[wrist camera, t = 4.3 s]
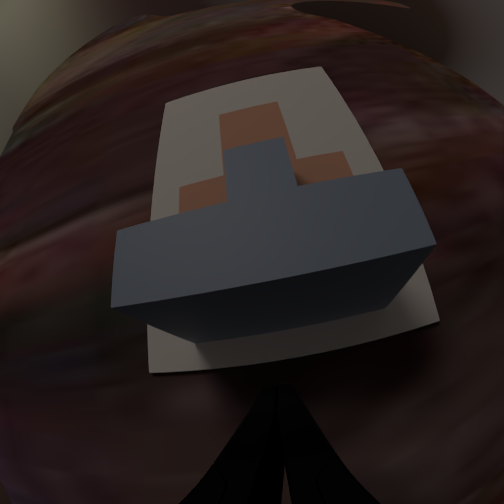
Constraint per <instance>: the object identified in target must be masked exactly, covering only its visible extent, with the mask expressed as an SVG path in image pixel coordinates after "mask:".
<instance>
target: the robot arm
mask: <svg viewBox="0 0 504 504" xmlns="http://www.w3.org/2000/svg"><path fill="white" fill-rule="evenodd" d="M284 466H285V468H286V473H287V479H288V485H289V491H290V496H291V502H292V504H380V503H379V502H378V501H377V500H376V499H375V498H374V497H373V496H372V495H371V494H370V493H369V492H368V491H367V490H366V489H365V488H364V487H363V486H362V485H361V484H360V483H359V482H358V481H357V480H356V479H355V477H354V476H353V475H352V474H351V473H350V472H349V470H348V469H347V468H346V466H345V465H344V464H343V462H342V461H341V459H340V458H339V456H338V455H337V453H335V451H334V449H333V448H332V446H331V445H330V443H329V441H328V440H327V438H326V437H325V435H324V434H323V432H322V431H321V429H320V428H319V426H318V425H317V423H316V422H315V420H314V418H313V417H312V415H311V414H310V412H309V411H308V409H307V407H306V406H305V404H304V403H303V401H302V400H301V398H300V396H299V395H298V393H297V392H296V390H295V388H294V387H293V385H292V384H291V383H290V382H287V383H280V384H278V386H277V385H276V384H273V385H266V386H264V387H263V389H262V390H261V392H260V393H259V395H258V397H257V398H256V400H255V402H254V403H253V405H252V406H251V408H250V409H249V411H248V413H247V414H246V416H245V417H244V419H243V420H242V422H241V423H240V425H239V427H238V428H237V430H236V431H235V433H234V434H233V436H232V437H231V439H230V440H229V442H228V443H227V445H226V446H225V447H224V449H223V450H222V452H221V453H220V455H219V456H218V458H217V459H216V460H215V462H214V464H213V465H212V466H211V467H210V469H209V470H208V471H207V473H206V474H205V475H204V477H203V478H202V479H201V481H200V482H199V483H198V484H197V485H196V486H195V488H194V489H193V490H192V491H191V492H190V493H189V494H188V495H187V496H186V497H185V498H184V499H183V500H182V501H181V502H180V503H179V504H281V501H282V490H283V478H284Z"/></svg>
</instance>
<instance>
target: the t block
mask: <svg viewBox="0 0 504 504" xmlns="http://www.w3.org/2000/svg"><path fill="white" fill-rule="evenodd" d="M223 157H224V168H225V179H226V190H227V201H228V202H223V203H219V204H215V205H211V206H207V207H203V208H199V209H195V210H191V211H187V212H183V213H179V214H176V215H172V216H168V217H164V218H161V219H157V220H153V221H150V222H146V223H142V224H139V225H135V226H132V227H128V228H125V229H122V230H118V231H117V238H116V246H115V256H114V267H113V280H112V296H111V308H112V309H115V310H117V311H119V312H121V313H123V314H125V315H128V316H130V317H132V318H134V319H136V320H139V321H141V322H143V323H145V324H148V325H150V326H152V327H155V328H157V329H160V330H162V331H164V332H167V333H169V334H172V335H174V336H177V337H179V338H182V339H184V340H187V341H190V342H192V343H202V342H210V341H218V340H225V339H233V338H239V337H246V336H253V335H259V334H265V333H271V332H277V331H282V330H288V329H293V328H299V327H304V326H309V325H314V324H319V323H324V322H328V321H333V320H338V319H342V318H347V317H351V316H355V315H359V314H364V313H368V312H372V311H376V310H380V309H384V308H386V307H387V306H388V305H389V304H390V302H391V301H392V300H393V299H394V298H395V297H396V295H397V294H398V293H399V292H400V291H401V289H402V288H403V287H404V286H405V285H406V283H407V282H408V281H409V280H410V278H411V277H412V276H413V275H414V273H415V272H416V271H417V270H418V268H419V267H420V266H421V264H422V263H423V262H424V261H425V259H426V258H427V257H428V255H429V254H430V252H431V251H432V250H433V248H434V247H435V246H436V241H435V239H434V236H433V234H432V231H431V229H430V227H429V224H428V222H427V220H426V217H425V215H424V213H423V211H422V208H421V206H420V204H419V202H418V200H417V198H416V196H415V193H414V191H413V189H412V187H411V185H410V183H409V181H408V179H407V177H406V176H405V174H404V172H403V170H402V168H400V169H393V170H386V171H380V172H373V173H367V174H361V175H355V176H350V177H344V178H338V179H333V180H327V181H322V182H317V183H311V184H306V185H301V186H298V185H297V182H296V178H295V175H294V171H293V168H292V164H291V161H290V158H289V154H288V151H287V148H286V144H285V141H284V138H283V137H279V138H274V139H269V140H265V141H260V142H256V143H251V144H247V145H243V146H239V147H235V148H231V149H227V150H223Z"/></svg>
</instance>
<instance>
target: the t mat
mask: <svg viewBox="0 0 504 504" xmlns="http://www.w3.org/2000/svg"><path fill="white" fill-rule="evenodd" d="M279 137H283V138H284V141H285V144H286V148H287V151H288V154H289V158H290V161H291V164H292V168H293V171H294V175H295V178H296V182H297V185H298V186H301V185H306V184H311V183H317V182H322V181H327V180H333V179H338V178H344V177H350V176H355V175H361V174H367V173H373V172H380V171H383V169H382V167H381V165H380V163H379V161H378V159H377V157H376V155H375V153H374V151H373V149H372V147H371V146H370V144H369V142H368V140H367V138H366V136H365V135H364V133H363V131H362V129H361V128H360V126H359V124H358V123H357V121H356V119H355V117H354V116H353V114H352V113H351V111H350V109H349V108H348V106H347V104H346V103H345V101H344V100H343V98H342V97H341V95H340V93H339V92H338V90H337V89H336V87H335V86H334V84H333V83H332V81H331V80H330V78H329V77H328V76H327V74H326V73H325V71H324V70H323V68H322V67H315V68H307V69H301V70H294V71H288V72H282V73H277V74H271V75H266V76H261V77H257V78H252V79H248V80H243V81H239V82H235V83H231V84H227V85H223V86H220V87H216V88H212V89H209V90H205V91H202V92H199V93H195V94H192V95H189V96H186V97H183V98H180V99H177V100H174V101H171V102H168V103H166V105H165V110H164V116H163V122H162V128H161V134H160V141H159V148H158V155H157V162H156V171H155V179H154V188H153V198H152V209H151V221H153V220H157V219H161V218H164V217H168V216H172V215H176V214H179V213H183V212H187V211H191V210H195V209H199V208H203V207H207V206H211V205H215V204H219V203H223V202H228V201H227V190H226V179H225V168H224V157H223V150H227V149H231V148H235V147H239V146H243V145H247V144H251V143H256V142H260V141H265V140H269V139H274V138H279ZM438 321H440V320H439V316H438V312H437V309H436V305H435V302H434V298H433V295H432V291H431V288H430V285H429V282H428V279H427V275H426V272H425V269H424V266H423V264H421V266H420V267H419V268H418V270H417V271H416V272H415V273H414V275H413V276H412V277H411V278H410V280H409V281H408V282H407V283H406V285H405V286H404V287H403V288H402V289H401V291H400V292H399V293H398V294H397V295H396V297H395V298H394V299H393V300H392V301H391V302H390V304H389V305H388V306H387V307H386V308H384V309H380V310H376V311H372V312H368V313H364V314H359V315H355V316H351V317H347V318H342V319H338V320H333V321H328V322H324V323H319V324H314V325H309V326H304V327H299V328H293V329H288V330H282V331H277V332H271V333H265V334H259V335H253V336H246V337H239V338H233V339H225V340H218V341H210V342H202V343H192V342H190V341H187V340H184V339H182V338H179V337H177V336H174V335H172V334H169V333H167V332H164V331H162V330H160V329H157V328H155V327H152V326H150V325H148V324H147V326H148V357H149V373H167V372H184V371H197V370H208V369H218V368H228V367H236V366H244V365H252V364H259V363H266V362H273V361H279V360H285V359H291V358H297V357H302V356H307V355H313V354H318V353H323V352H327V351H332V350H337V349H341V348H346V347H350V346H354V345H358V344H363V343H367V342H370V341H374V340H378V339H382V338H386V337H389V336H393V335H396V334H400V333H403V332H407V331H410V330H413V329H417V328H420V327H423V326H426V325H429V324H432V323H435V322H438Z"/></svg>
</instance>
